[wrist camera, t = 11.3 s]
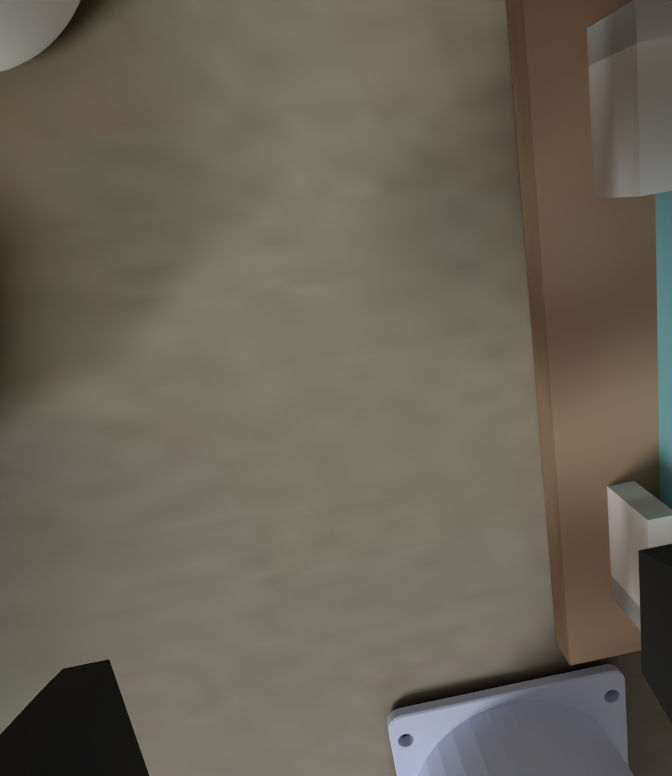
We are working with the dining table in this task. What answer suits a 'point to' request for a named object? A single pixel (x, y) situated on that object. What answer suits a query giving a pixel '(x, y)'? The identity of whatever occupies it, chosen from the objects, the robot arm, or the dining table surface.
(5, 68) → the beverage can
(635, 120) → the wooden bracket tray
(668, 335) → the teal rectangular block
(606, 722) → the robot arm
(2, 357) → the dining table surface
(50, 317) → the dining table surface
